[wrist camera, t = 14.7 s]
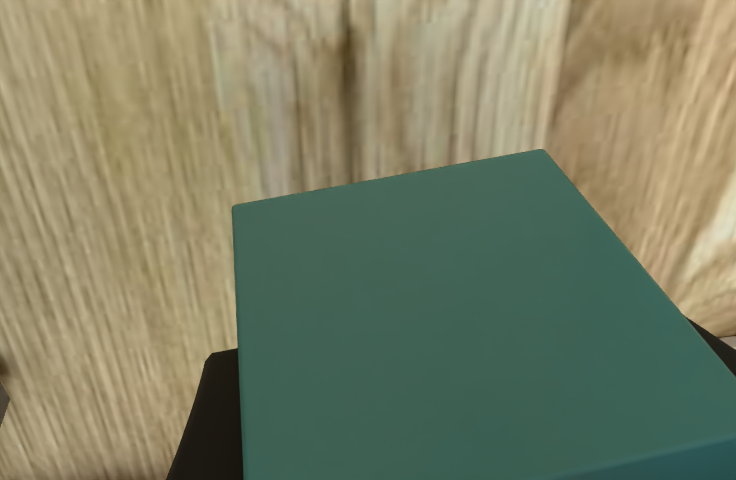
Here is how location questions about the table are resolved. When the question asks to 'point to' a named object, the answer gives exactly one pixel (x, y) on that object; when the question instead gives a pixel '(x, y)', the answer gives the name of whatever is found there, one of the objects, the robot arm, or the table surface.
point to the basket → (3, 402)
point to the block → (465, 337)
